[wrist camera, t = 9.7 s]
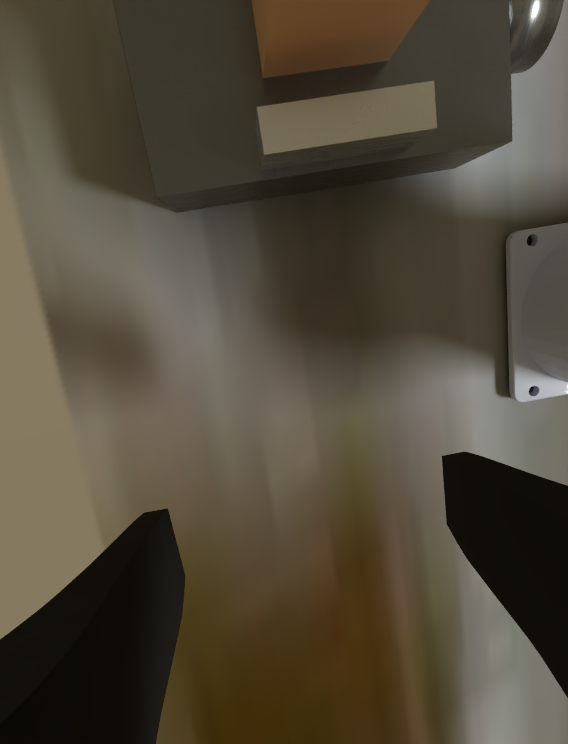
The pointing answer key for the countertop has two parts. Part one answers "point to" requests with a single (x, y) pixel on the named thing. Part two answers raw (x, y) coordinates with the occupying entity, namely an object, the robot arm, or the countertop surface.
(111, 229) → the countertop surface
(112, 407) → the countertop surface
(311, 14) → the tan single stud brick
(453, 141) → the grey plate with rails
